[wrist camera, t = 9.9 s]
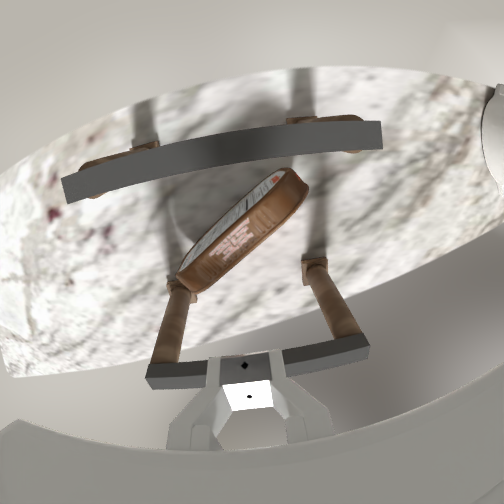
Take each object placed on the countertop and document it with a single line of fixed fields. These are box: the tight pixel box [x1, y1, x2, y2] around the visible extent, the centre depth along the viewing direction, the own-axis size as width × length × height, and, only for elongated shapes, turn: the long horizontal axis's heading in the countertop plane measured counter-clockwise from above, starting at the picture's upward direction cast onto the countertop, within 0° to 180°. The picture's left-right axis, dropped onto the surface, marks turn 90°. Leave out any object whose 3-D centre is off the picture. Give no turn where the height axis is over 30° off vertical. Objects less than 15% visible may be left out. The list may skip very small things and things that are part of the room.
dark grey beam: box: [145, 333, 370, 390], centre depth 20 cm, size 18×2×2 cm, turn 98°
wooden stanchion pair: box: [78, 115, 364, 364], centre depth 23 cm, size 19×19×12 cm
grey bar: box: [61, 121, 383, 204], centre depth 13 cm, size 18×2×2 cm, turn 98°
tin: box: [175, 168, 309, 295], centre depth 25 cm, size 15×3×8 cm, turn 132°
